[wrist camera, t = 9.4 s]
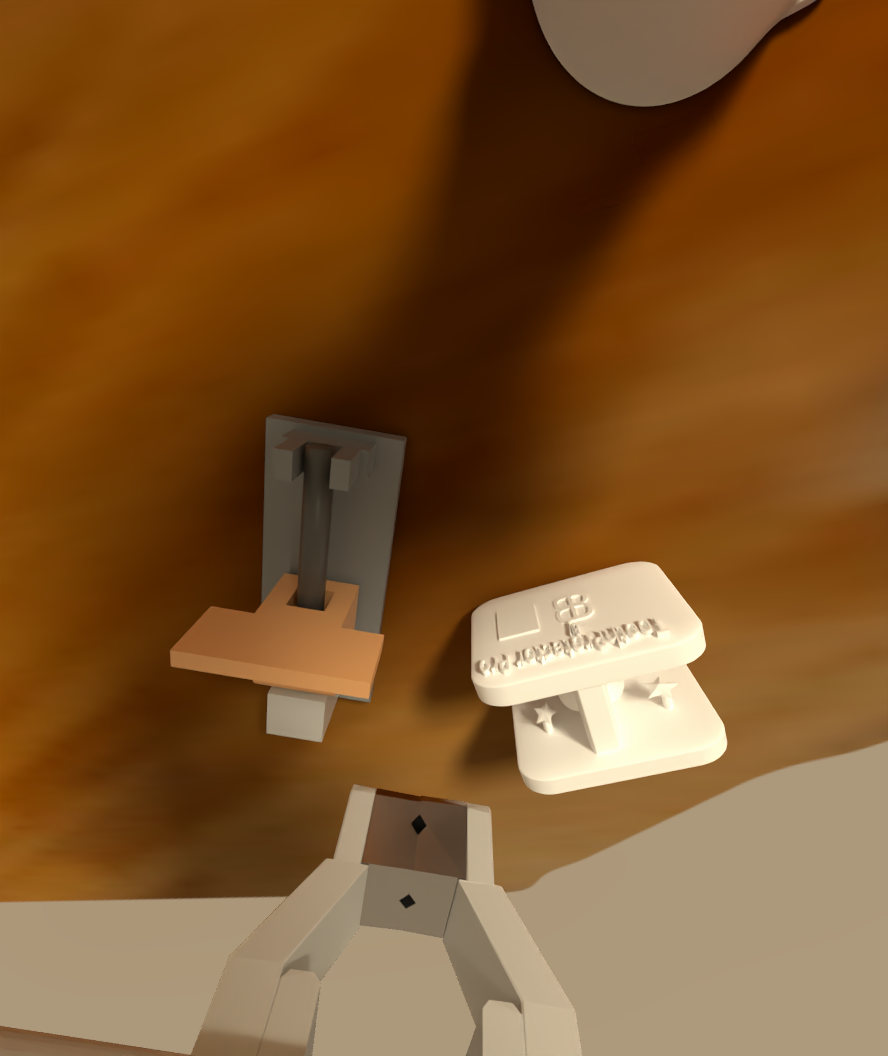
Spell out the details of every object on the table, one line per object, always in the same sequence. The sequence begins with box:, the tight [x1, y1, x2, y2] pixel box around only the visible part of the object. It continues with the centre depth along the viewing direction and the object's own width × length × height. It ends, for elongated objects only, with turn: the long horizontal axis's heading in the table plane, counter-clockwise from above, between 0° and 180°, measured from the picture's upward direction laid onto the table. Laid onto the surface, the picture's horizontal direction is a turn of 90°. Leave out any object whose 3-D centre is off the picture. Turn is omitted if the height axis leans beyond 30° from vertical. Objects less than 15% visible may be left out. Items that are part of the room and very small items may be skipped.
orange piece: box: [170, 573, 384, 699], centre depth 36 cm, size 6×12×11 cm, turn 81°
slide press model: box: [261, 414, 407, 742], centre depth 38 cm, size 24×10×7 cm, turn 171°
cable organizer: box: [471, 562, 727, 794], centre depth 37 cm, size 15×11×12 cm
